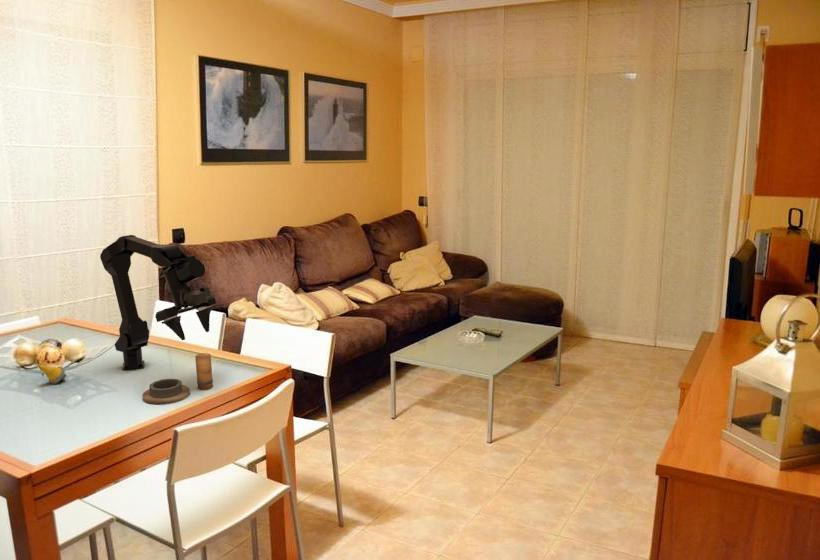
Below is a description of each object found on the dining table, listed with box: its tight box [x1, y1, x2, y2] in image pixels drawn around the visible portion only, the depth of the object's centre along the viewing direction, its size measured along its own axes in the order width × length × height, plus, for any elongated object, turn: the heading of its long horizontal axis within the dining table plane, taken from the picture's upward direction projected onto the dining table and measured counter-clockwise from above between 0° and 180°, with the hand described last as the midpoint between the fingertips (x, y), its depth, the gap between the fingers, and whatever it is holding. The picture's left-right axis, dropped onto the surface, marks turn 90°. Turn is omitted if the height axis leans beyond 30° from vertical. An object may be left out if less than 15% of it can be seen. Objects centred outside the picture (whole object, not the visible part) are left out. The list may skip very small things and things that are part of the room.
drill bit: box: [37, 364, 68, 385], centre depth 206 cm, size 5×5×10 cm
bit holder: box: [141, 378, 191, 405], centre depth 197 cm, size 13×13×4 cm
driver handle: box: [194, 352, 214, 391], centre depth 203 cm, size 4×4×10 cm
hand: (196, 335), depth 203 cm, fingers open, 9 cm apart
